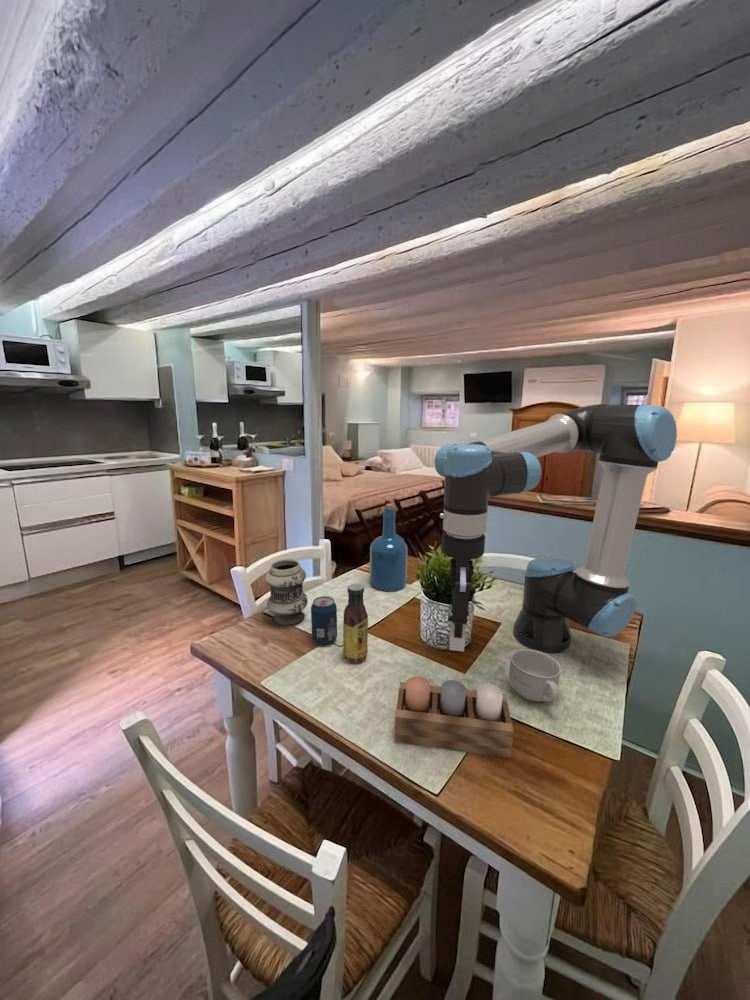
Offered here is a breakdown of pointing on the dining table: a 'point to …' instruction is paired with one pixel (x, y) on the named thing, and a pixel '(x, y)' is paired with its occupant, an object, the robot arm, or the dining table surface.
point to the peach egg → (417, 694)
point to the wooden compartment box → (453, 727)
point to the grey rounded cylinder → (452, 698)
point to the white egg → (488, 703)
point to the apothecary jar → (286, 593)
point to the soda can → (324, 621)
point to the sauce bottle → (355, 626)
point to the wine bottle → (388, 556)
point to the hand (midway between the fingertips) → (456, 648)
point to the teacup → (534, 675)
